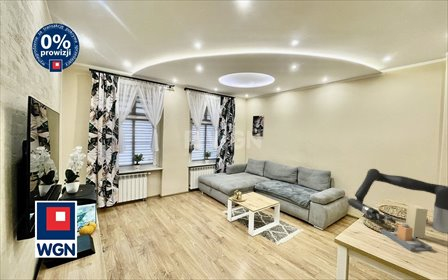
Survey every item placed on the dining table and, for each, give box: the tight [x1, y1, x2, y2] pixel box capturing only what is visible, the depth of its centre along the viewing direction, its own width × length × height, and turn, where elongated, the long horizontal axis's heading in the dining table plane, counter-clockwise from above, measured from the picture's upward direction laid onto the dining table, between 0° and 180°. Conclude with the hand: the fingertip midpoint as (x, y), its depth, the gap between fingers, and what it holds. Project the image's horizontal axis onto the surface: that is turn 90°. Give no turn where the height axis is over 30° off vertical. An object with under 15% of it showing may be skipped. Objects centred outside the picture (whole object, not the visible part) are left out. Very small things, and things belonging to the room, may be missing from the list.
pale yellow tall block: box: [405, 203, 428, 239], centre depth 130 cm, size 8×7×21 cm
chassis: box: [380, 228, 433, 252], centre depth 123 cm, size 20×14×2 cm
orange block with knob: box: [397, 223, 413, 241], centre depth 122 cm, size 5×5×11 cm
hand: (389, 222), depth 133 cm, fingers open, 8 cm apart
